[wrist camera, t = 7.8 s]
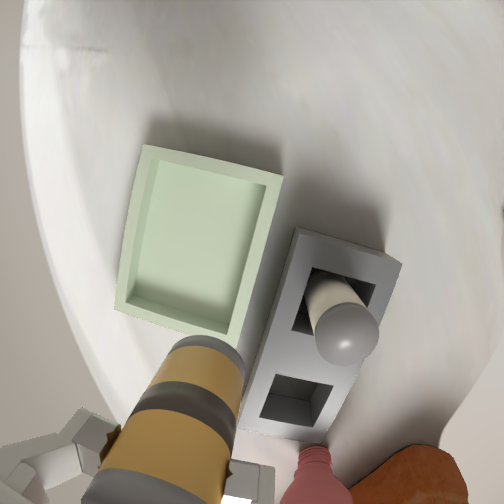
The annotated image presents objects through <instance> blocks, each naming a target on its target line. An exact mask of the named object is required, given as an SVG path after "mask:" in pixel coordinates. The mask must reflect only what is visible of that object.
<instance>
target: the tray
mask: <svg viewBox="0 0 504 504" xmlns="http://www.w3.org/2000/svg"><path fill="white" fill-rule="evenodd" d="M283 178H284V176H281V175H278V174H274V173H270V172H267V171H263V170H259V169H255V168H251V167H247V166H243V165H239V164H235V163H231V162H227V161H222V160H218V159H214V158H209V157H205V156H200V155H196V154H191V153H187V152H182V151H177V150H172V149H167V148H162V147H157V146H151V145H146V144H143V147H142V151H141V155H140V159H139V163H138V167H137V171H136V176H135V180H134V185H133V189H132V194H131V199H130V204H129V209H128V215H127V220H126V226H125V231H124V237H123V243H122V250H121V257H120V264H119V271H118V279H117V287H116V296H115V305H114V309H115V310H117V311H120V312H123V313H126V314H128V315H131V316H134V317H137V318H140V319H142V320H145V321H148V322H151V323H154V324H157V325H160V326H163V327H166V328H169V329H172V330H175V331H178V332H182V333H185V334H188V335H191V336H193V335H207V336H212V337H215V338H218V339H220V340H222V341H224V342H226V343H228V344H229V345H230V346H232V347H233V348H236V347H237V344H238V340H239V337H240V333H241V330H242V326H243V323H244V319H245V316H246V312H247V309H248V305H249V301H250V298H251V294H252V291H253V287H254V284H255V280H256V276H257V273H258V269H259V266H260V262H261V258H262V255H263V251H264V248H265V244H266V240H267V237H268V233H269V229H270V226H271V222H272V219H273V215H274V211H275V208H276V204H277V200H278V197H279V193H280V189H281V185H282V182H283Z"/></svg>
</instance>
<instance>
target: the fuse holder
mask: <svg viewBox="0 0 504 504" xmlns="http://www.w3.org/2000/svg"><path fill="white" fill-rule="evenodd" d="M312 267H314V268H318V269H321V270H325V271H329V272H332V273H336V274H339V275H343V276H347V277H350V278H354V279H358V280H359V282H358V284H357V287H356V290H355V293H356V294H357V295H358V297H359V298H360V299H361V301H362V302H363V304H364V305H365V306H366V308H367V309H368V310H369V312H370V313H371V314H372V316H373V317H374V319H375V320H376V322H377V324H378V327H379V325H380V323H381V320H382V318H383V315H384V313H385V310H386V308H387V305H388V303H389V300H390V297H391V295H392V292H393V289H394V287H395V284H396V281H397V278H398V275H399V272H400V270H401V267H402V263H400V262H399V261H397V260H396V259H394V258H392V257H391V256H389V255H388V254H386V253H384V252H381V251H377V250H374V249H371V248H368V247H364V246H361V245H358V244H354V243H351V242H348V241H344V240H341V239H338V238H334V237H331V236H327V235H324V234H320V233H317V232H314V231H310V230H307V229H303V228H299V227H295V231H294V234H293V238H292V241H291V245H290V248H289V252H288V255H287V258H286V262H285V265H284V269H283V272H282V275H281V279H280V282H279V285H278V289H277V292H276V295H275V299H274V302H273V305H272V308H271V312H270V315H269V318H268V321H267V324H266V328H265V331H264V334H263V337H262V340H261V343H260V346H259V350H258V353H257V356H256V359H255V362H254V365H253V368H252V371H251V374H250V377H249V380H248V383H247V386H246V389H245V392H244V395H243V398H242V401H241V406H240V412H239V418H238V423H237V429H242V430H246V431H250V432H255V433H259V434H264V435H269V436H274V437H280V438H285V439H291V440H297V441H304V442H310V443H318V444H320V443H321V442H322V440H323V438H324V436H325V435H326V433H327V431H328V429H329V428H330V426H331V424H332V422H333V421H334V419H335V417H336V415H337V413H338V411H339V410H340V408H341V406H342V404H343V402H344V400H345V398H346V396H347V394H348V392H349V390H350V388H351V386H352V384H353V382H354V380H355V378H356V376H357V374H358V372H359V370H360V368H361V366H362V364H363V362H364V360H362V361H360V362H358V363H356V364H353V365H349V366H337V365H333V364H331V363H329V362H327V361H326V360H325V359H323V357H322V356H321V355H320V353H319V351H318V349H317V345H316V341H315V337H314V333H313V329H312V325H311V321H310V317H309V315H305V314H301V313H297V312H298V309H299V306H300V303H301V300H302V297H303V294H304V291H305V288H306V284H307V281H308V278H309V275H310V272H311V269H312ZM275 374H280V375H284V376H289V377H293V378H298V379H303V380H308V381H313V382H318V384H317V387H316V389H315V391H314V393H313V395H312V397H311V400H310V402H309V401H304V400H299V399H294V398H289V397H284V396H279V395H275V394H270V393H268V392H269V390H270V387H271V385H272V382H273V379H274V377H275Z"/></svg>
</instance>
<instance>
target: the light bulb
mask: <svg viewBox="0 0 504 504" xmlns="http://www.w3.org/2000/svg"><path fill="white" fill-rule="evenodd" d="M331 466H332V462H331V455H330V452H329V450H328V449H326V448H324V447H320V446H313V447H309V448H307V449H305V450H303V451H302V452H301V453H300V454H299V461H298V469H297V470H296V471H295V474H294V481H293V482H292V483H291V485H290V486H289V487H288V489H287V491H286V492H285V494H284V495H283V497H282V499H281V501H280V504H353V499H352V496H351V494H350V492H349V491H348V489H347V488H346V487H345V486H344V485H343V484H342V483H341V482H340V481H339V480H338V479H337V478H336V477H335V476H334V475H333V474H332V469H331Z"/></svg>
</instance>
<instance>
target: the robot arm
mask: <svg viewBox="0 0 504 504" xmlns="http://www.w3.org/2000/svg"><path fill="white" fill-rule="evenodd" d="M120 432H121V425H119V424H117V423H115V422H113V421H110V420H108V419H106V418H104V417H102V416H100V415H97V414H95V413H93V412H91V411H89V410H87V409H85V408H83V407H82V408H80V409H79V410H78V411H77V412H76V413H75V414H74V416H73V417H72V418H71V419H70V420H69V422H68V423H67V424H66V425H65V427H64V428H63V429H62V430H61V432H60V433H59V434H57V433H51V434H48V435H44V436H41V437H37V438H33V439H30V440H26V441H22V442H17V443H13V444H9V445H5V446H2V448H1V449H0V504H51V501H50V499H49V498H48V496H47V494H46V492H45V490H47V489H49V488H51V487H54V486H56V485H58V484H61V483H63V482H65V481H67V480H69V479H71V478H73V477H76V476H78V475H80V474H82V472H83V473H85V474H88V475H90V476H92V477H94V476H95V475H96V473H97V471H98V470H99V468H100V466H101V465H102V463H103V461H104V459H105V458H106V456H107V454H108V453H109V451H110V449H111V448H112V446H113V444H114V443H115V441H116V439H117V438H118V436H119V434H120ZM274 490H275V468H274V467H272V466H266V465H259V464H256V463H251V462H245V461H240V460H235V459H230V460H229V463H228V468H227V473H226V482H225V485H224V489H223V494H222V500H221V504H274Z"/></svg>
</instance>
